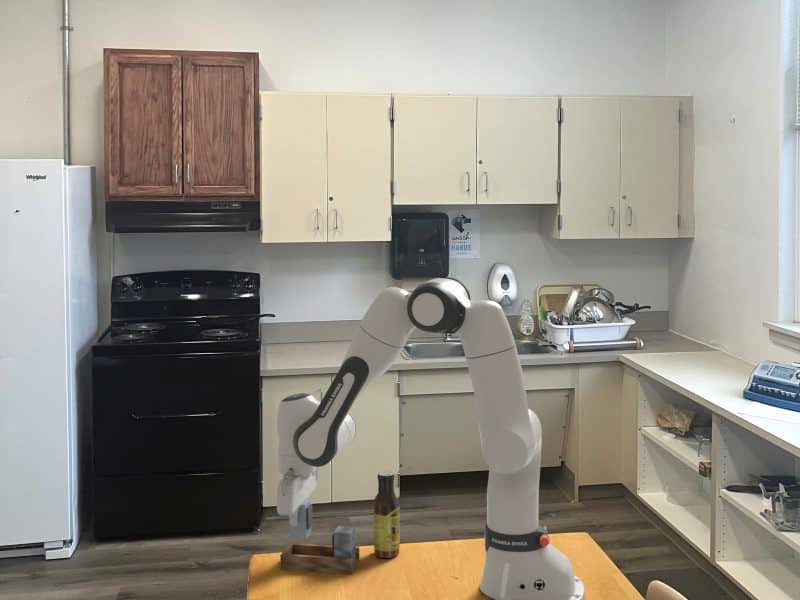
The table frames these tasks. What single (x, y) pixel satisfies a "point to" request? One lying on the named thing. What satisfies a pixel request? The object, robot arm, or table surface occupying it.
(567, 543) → the table surface
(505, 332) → the robot arm
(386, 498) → the sauce bottle
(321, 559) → the brown wooden open box
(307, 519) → the blue grey rectangular block
